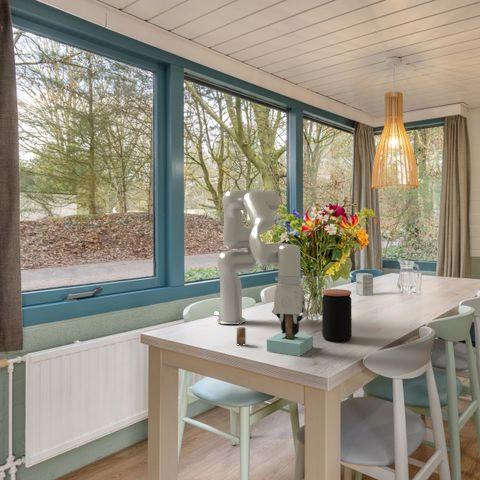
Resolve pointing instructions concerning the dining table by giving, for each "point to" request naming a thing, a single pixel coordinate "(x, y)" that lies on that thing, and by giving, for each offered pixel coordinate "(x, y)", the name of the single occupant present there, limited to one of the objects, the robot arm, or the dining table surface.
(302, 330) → the dining table surface
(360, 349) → the dining table surface
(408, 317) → the dining table surface
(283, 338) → the hole block
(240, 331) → the short dowel
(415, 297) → the dining table surface
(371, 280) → the supplement box
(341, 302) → the coffee jar
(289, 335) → the long dowel
